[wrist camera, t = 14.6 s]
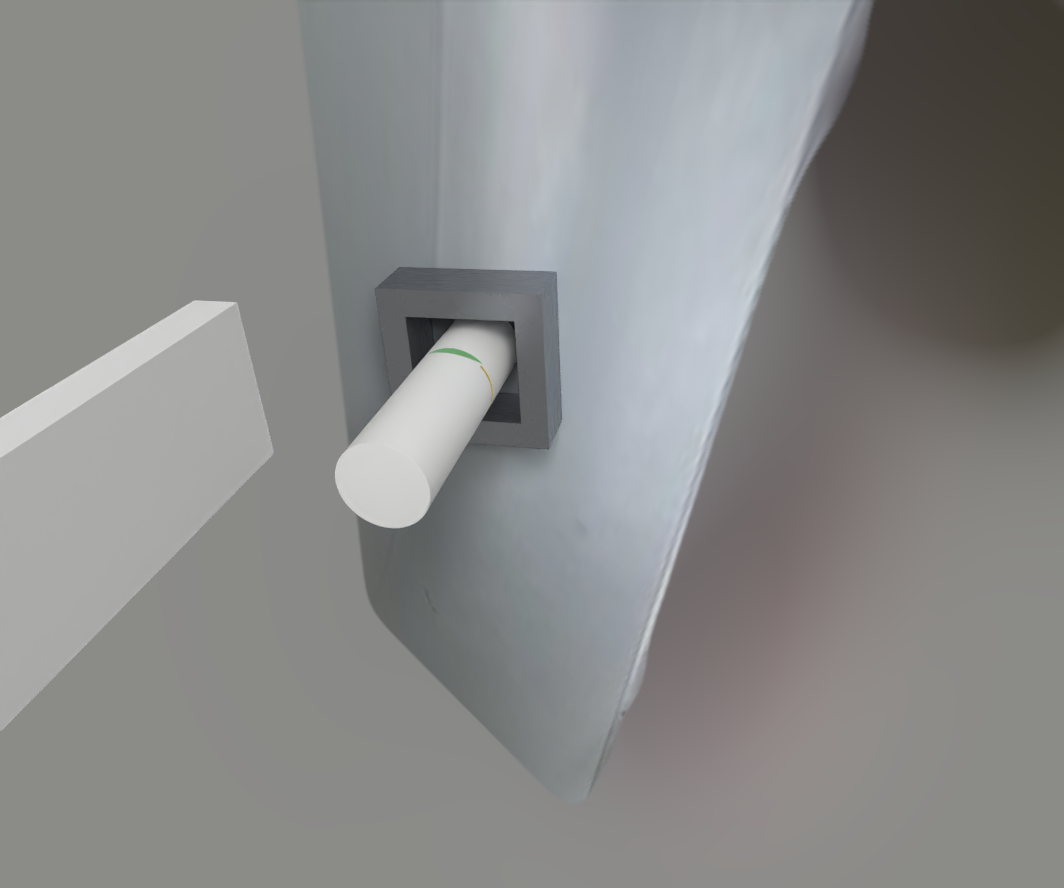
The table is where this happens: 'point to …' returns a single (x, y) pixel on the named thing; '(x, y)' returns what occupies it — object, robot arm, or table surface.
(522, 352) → the gray square frame
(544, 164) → the table surface
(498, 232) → the table surface
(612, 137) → the table surface
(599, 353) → the table surface
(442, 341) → the tube
